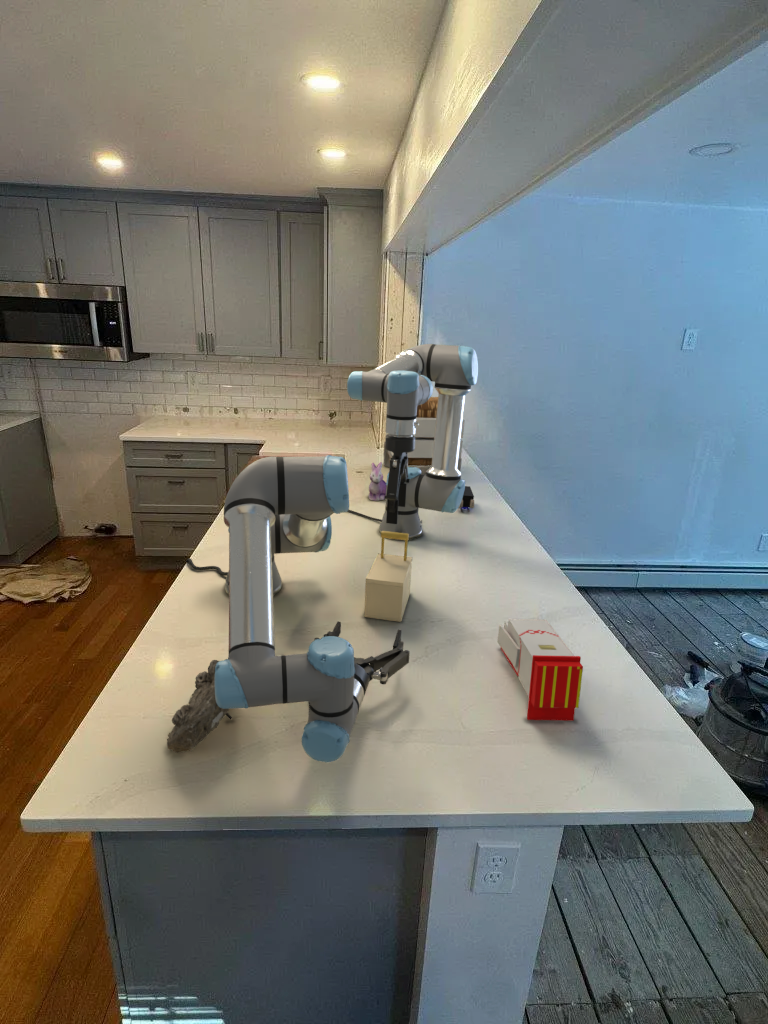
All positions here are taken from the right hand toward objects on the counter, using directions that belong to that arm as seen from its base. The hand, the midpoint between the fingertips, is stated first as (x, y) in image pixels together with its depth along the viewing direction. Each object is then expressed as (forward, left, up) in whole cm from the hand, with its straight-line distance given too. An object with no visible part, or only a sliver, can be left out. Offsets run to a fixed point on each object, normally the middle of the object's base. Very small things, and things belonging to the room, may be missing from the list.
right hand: (396, 514), depth 149 cm
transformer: (-85, +93, -24) cm, 128 cm away
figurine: (-67, +51, -24) cm, 88 cm away
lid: (+3, -4, -14) cm, 15 cm away
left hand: (+20, -25, -16) cm, 36 cm away
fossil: (+16, -60, -24) cm, 67 cm away
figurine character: (-38, +72, -24) cm, 85 cm away
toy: (+47, -1, -24) cm, 53 cm away
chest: (+4, -5, -24) cm, 25 cm away
